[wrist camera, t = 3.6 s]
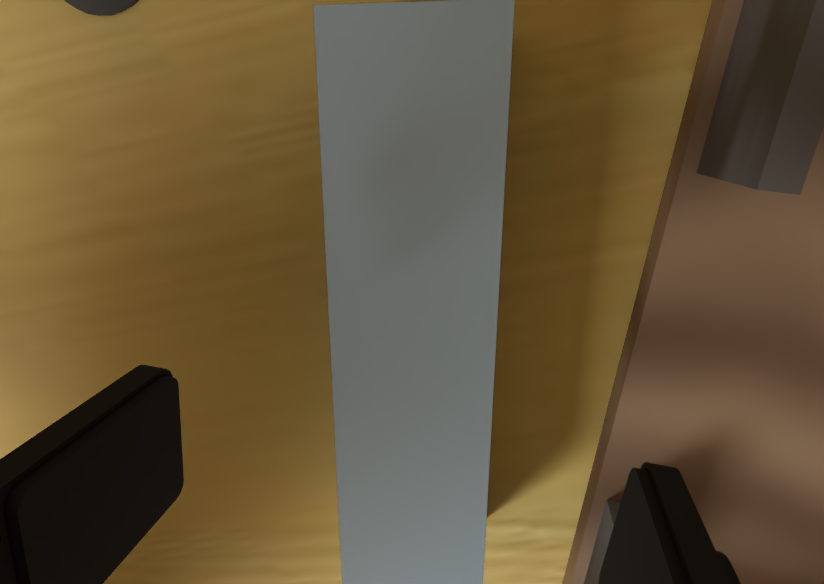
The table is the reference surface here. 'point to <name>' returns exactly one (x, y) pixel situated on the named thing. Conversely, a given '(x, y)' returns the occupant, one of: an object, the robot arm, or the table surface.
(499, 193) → the grey rectangular block
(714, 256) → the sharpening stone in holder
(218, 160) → the table surface
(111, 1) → the sundae
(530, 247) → the table surface
